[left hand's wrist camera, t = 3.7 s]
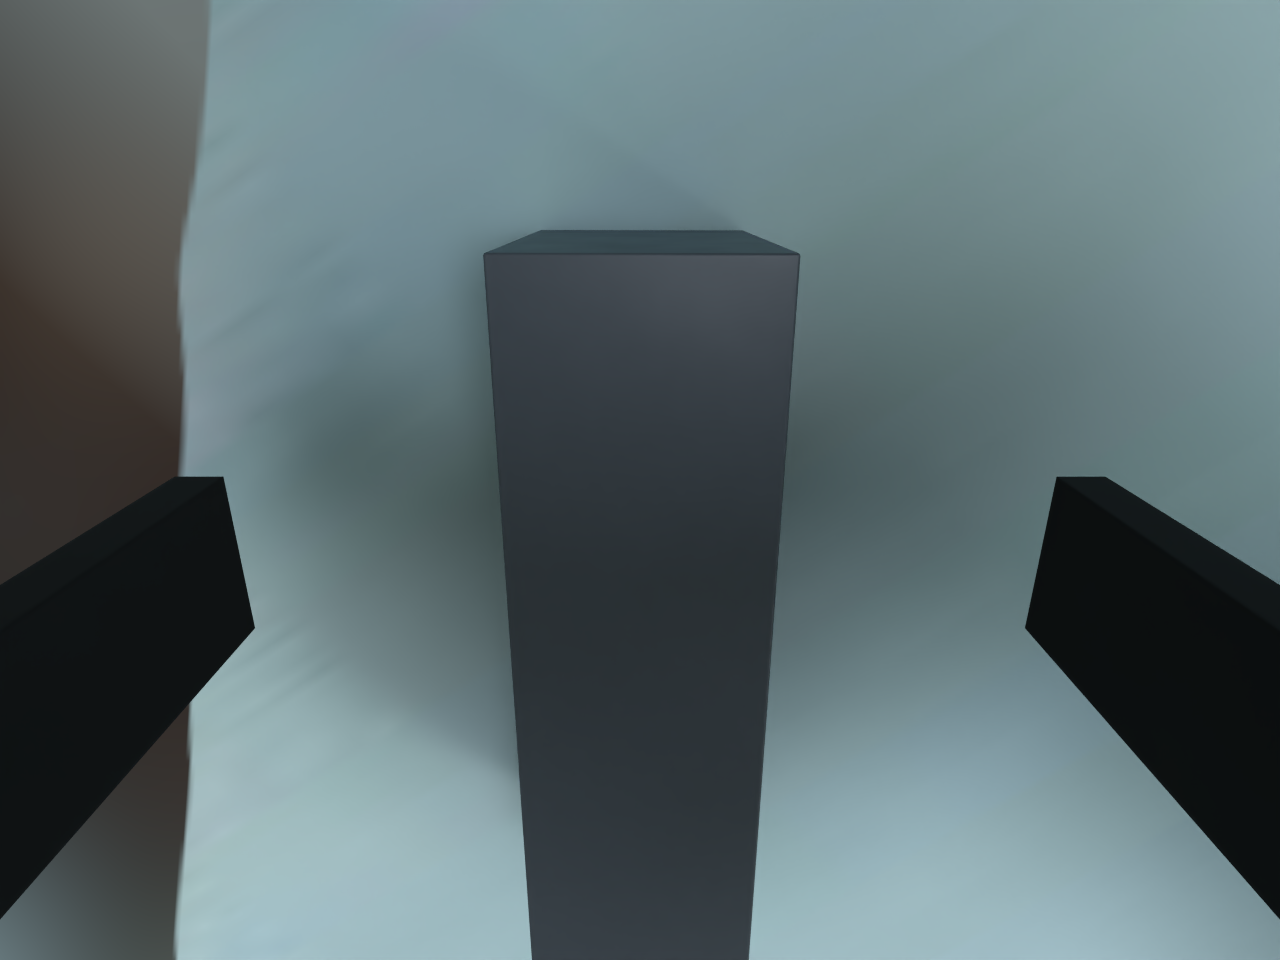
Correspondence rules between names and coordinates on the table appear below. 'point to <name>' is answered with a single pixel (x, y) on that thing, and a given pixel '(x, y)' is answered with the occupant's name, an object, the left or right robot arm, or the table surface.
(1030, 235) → the table surface
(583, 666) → the box
